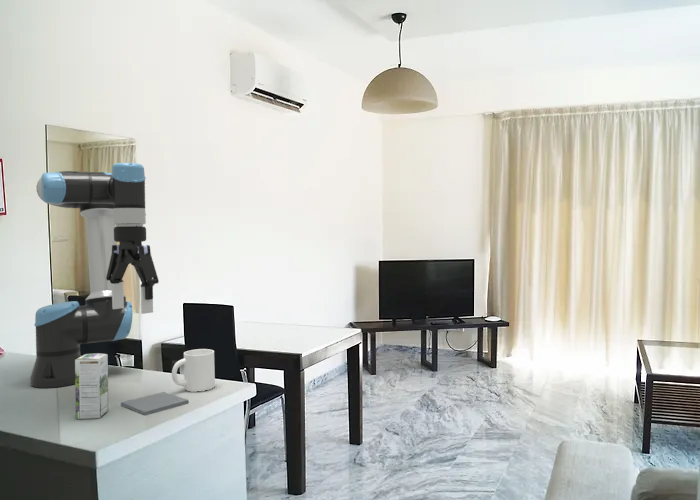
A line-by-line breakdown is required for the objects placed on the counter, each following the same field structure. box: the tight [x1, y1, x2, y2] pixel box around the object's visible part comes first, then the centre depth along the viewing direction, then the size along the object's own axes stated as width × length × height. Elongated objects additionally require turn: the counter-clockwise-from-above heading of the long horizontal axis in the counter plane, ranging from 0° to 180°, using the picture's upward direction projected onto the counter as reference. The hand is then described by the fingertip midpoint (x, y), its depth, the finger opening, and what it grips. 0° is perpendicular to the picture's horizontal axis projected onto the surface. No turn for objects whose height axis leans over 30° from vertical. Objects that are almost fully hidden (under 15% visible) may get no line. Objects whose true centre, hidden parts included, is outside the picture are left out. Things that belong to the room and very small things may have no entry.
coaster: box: [120, 391, 190, 416], centre depth 143 cm, size 12×12×1 cm
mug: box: [171, 348, 216, 393], centre depth 156 cm, size 12×8×10 cm
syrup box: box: [74, 352, 109, 420], centre depth 135 cm, size 6×6×14 cm
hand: (132, 310), depth 140 cm, fingers open, 13 cm apart
